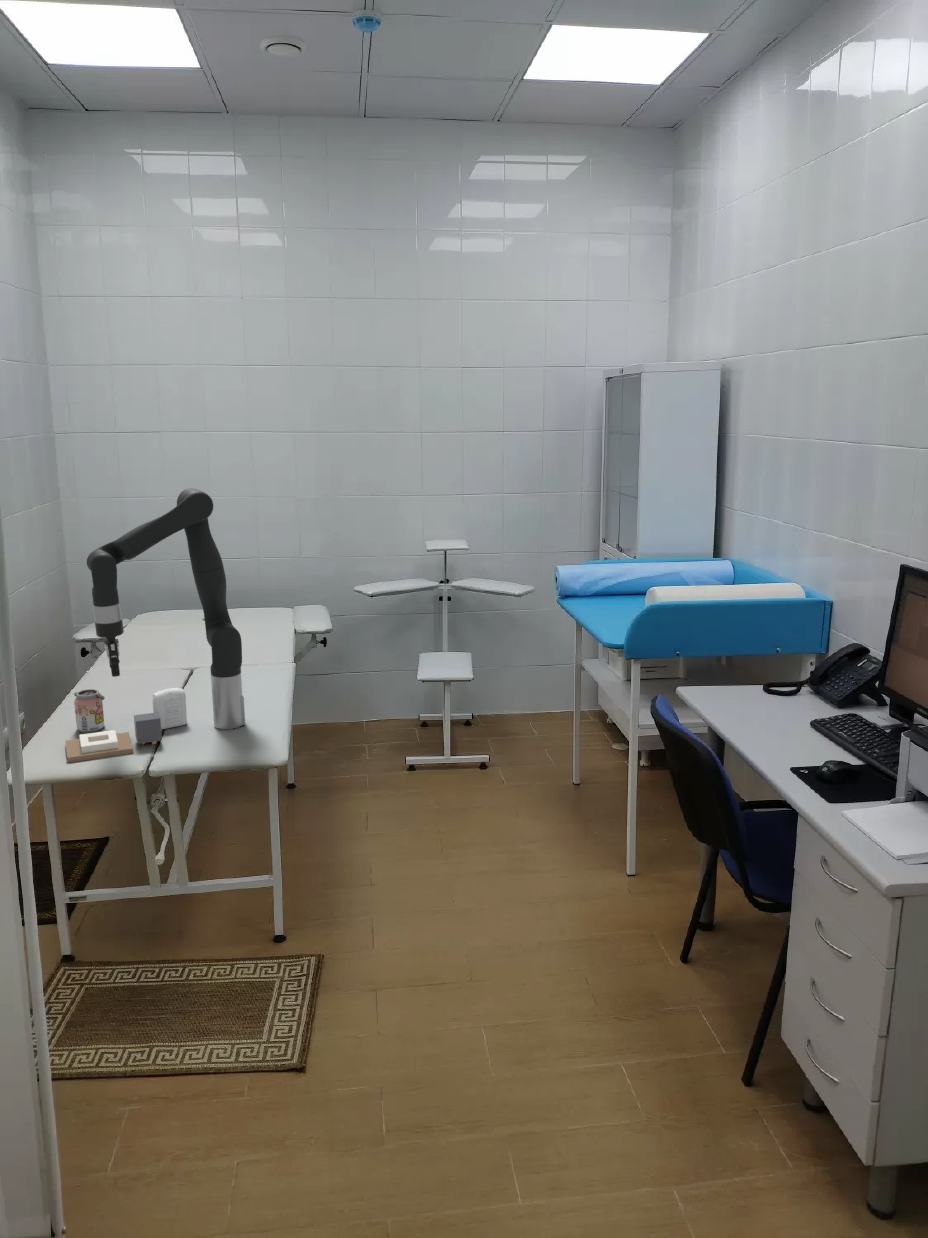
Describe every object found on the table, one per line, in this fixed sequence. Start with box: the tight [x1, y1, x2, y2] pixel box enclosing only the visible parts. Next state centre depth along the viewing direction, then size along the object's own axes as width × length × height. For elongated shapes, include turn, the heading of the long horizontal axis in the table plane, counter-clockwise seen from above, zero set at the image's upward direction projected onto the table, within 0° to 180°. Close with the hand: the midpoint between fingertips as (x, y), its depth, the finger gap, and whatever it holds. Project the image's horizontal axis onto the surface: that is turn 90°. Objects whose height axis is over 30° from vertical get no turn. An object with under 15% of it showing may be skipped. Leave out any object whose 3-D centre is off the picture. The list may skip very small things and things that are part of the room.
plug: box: [133, 712, 163, 745], centre depth 284 cm, size 7×6×8 cm
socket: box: [65, 729, 134, 764], centre depth 280 cm, size 18×14×4 cm
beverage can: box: [73, 688, 105, 734], centre depth 295 cm, size 9×8×12 cm
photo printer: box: [152, 687, 188, 730], centre depth 297 cm, size 10×4×12 cm, turn 125°
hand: (115, 671), depth 279 cm, fingers open, 8 cm apart
